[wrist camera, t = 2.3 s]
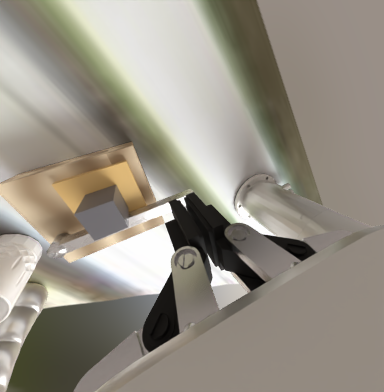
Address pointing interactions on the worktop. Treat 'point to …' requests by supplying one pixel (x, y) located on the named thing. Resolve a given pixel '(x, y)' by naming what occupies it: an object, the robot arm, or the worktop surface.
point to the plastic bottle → (19, 327)
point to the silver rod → (82, 238)
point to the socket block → (56, 207)
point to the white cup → (15, 268)
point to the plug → (102, 198)
